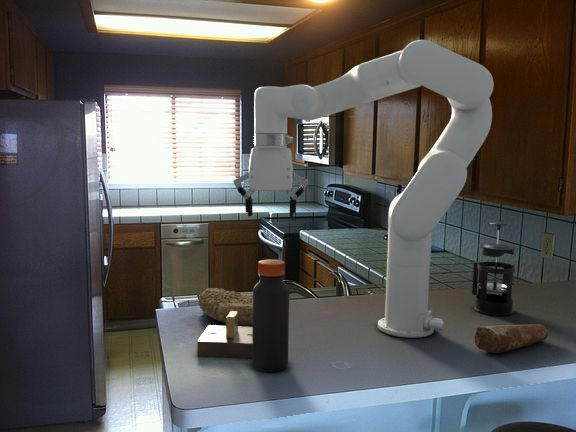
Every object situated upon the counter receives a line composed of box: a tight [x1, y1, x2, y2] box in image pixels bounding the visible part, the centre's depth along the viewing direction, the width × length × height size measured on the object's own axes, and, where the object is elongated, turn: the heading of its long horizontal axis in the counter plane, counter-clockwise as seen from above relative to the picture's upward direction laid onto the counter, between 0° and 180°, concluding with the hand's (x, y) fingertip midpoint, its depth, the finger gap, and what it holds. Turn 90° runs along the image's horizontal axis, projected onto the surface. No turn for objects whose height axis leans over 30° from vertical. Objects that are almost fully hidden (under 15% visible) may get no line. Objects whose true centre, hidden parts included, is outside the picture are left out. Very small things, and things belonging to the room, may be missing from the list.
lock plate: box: [197, 324, 253, 359], centre depth 114 cm, size 12×10×3 cm
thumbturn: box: [225, 311, 239, 338], centre depth 114 cm, size 5×2×4 cm, turn 175°
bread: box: [474, 323, 549, 354], centre depth 117 cm, size 6×19×6 cm, turn 119°
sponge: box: [198, 287, 253, 326], centre depth 132 cm, size 13×8×20 cm
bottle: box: [251, 258, 290, 373], centre depth 105 cm, size 7×7×20 cm
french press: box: [471, 221, 517, 317], centre depth 143 cm, size 12×9×23 cm
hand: (270, 216), depth 130 cm, fingers open, 9 cm apart
